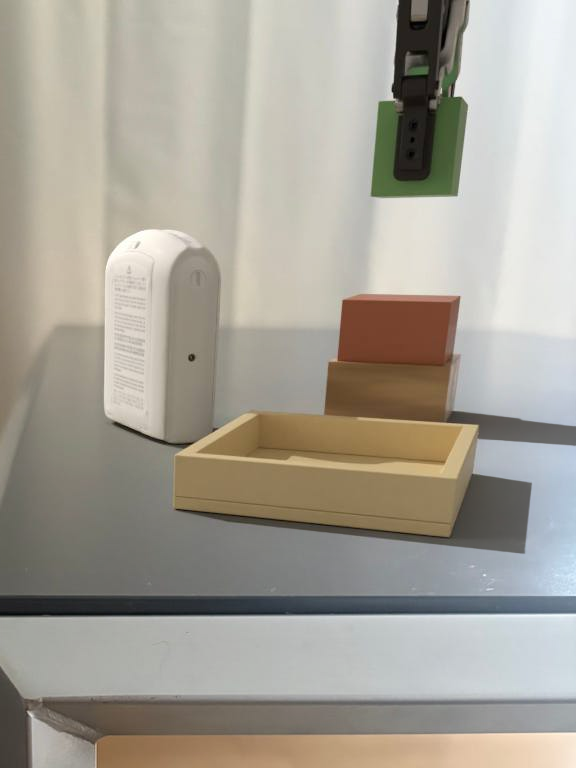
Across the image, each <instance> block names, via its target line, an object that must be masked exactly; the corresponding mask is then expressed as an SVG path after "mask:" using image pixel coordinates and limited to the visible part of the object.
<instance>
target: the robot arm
mask: <svg viewBox="0 0 576 768" xmlns="http://www.w3.org/2000/svg"><path fill="white" fill-rule="evenodd" d="M470 6H471V0H397V7H396V13H395V19H396V32H395V33H396V35H395V49H394V56H393V57H394V58H393V68H394V69H393V82H392V83H391V88H390V89H391V91H390V93H392V100H395V108H396V114H403V115H402V116H398V125H397V136H396V147H395V157H394V168H393V176H394V178H395V179H396V180H398V181H422V180H425V179H426V178H428V176H429V175H430V170H431V160H432V151H433V141H434V132H435V123H436V114H429V113H430V112H437V111H438V106H439V105H441V98H444V97H455V89H456V83H457V80H458V79H459V76H460V74H461V69H462V67H461V66H462V56H463V55H462V54H463V44H464V43H463V42H464V33H465V31H466V30H467V28H468V25H469V22H470V21H469V19H470V9H471V8H470Z"/></svg>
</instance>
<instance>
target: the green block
mask: <svg viewBox="0 0 576 768" xmlns="http://www.w3.org/2000/svg"><path fill="white" fill-rule="evenodd" d="M468 109H469V104H468V103H467V101H466V100H465V99H464V97H463V96H454V97H444V98H441V105H439V106H438V111H437V112H430V113H429V114H436V123H435V132H434V141H433V151H432V160H431V170H430V175H429V176H428V178H426V179H425V180H422V181H398V180H396V179H395V178H394V176H393V168H394V157H395V147H396V136H397V125H398V116H402V115H403V114H396V108H395V99H392V100H379V101H378V104H377V115H376V127H375V137H374V138H375V139H374V150H373V163H372V172H371V173H372V175H371V183H370V184H371V185H370V197H372V198H379V199H407V198H409V199H413V198H414V199H415V198H449V197H450V198H452V197H453V198H454V197H456V198H457V197H458V196H459V187H460V180H461V179H460V178H461V170H462V162H463V154H464V146H465V145H464V144H465V137H466V127H467V119H468Z"/></svg>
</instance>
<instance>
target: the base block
mask: <svg viewBox="0 0 576 768" xmlns="http://www.w3.org/2000/svg"><path fill="white" fill-rule="evenodd" d="M461 357H462V354H461V353H453V355H452V356H451V357H450V358H449V359H448V361H447V362H446V363H445V364H444V365H443V366H441V365H418V364H396V363H373V362H351V361H337V356H336V357H334V358H332V359H330V360H328V363H327V371H326V372H327V373H326V384H325V385H326V386H325V398H324V410H323V415H332V416H347V417H363V418H378V419H393V420H409V421H424V422H440V423H448V420H449V418H450V416H451V415H452V413H453V411H454V409H455V401H456V395H457V387H458V379H459V374H460V373H459V371H460V364H461Z"/></svg>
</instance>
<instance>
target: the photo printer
mask: <svg viewBox="0 0 576 768" xmlns="http://www.w3.org/2000/svg"><path fill="white" fill-rule="evenodd" d="M221 288H222V276H221V268H220V265H219V263H218V260H217V258H216V257H215V255H214V254H213V252H211V250H210V249H209V248H208V247H207V245H205V244H203V243H202V242H201V241H200V240H198V239H196V238H195V237H194V236H192V235H190V234H188V233H186V232H183V231H180V230H176V229H157V228H153V229H152V228H151V229H145V230H141V231H137V232H136V233H133V234H132V235H129V236H128V237H127V238H125V239H124V240H122V241H121V242H120V243H119V244H118V245H117V246H116V247H115V248H114V250H113V251H112V252H111V253H110V255H109V257H108V259H107V263H106V266H105V272H104V369H103V371H104V372H103V374H104V377H103V409H104V415H105V416H106V418H108V419H110V420H111V421H114V422H116V423H117V424H120V425H123V426H126V427H128V428H131V429H133V430H135V431H138V433H139V432H140V433H142V434H144V435H147V436H148V437H151V438H154V439H157V440H161V441H164V442H166V443H169V444H174V445H175V444H176V445H177V444H194V443H196V442H198V441H199V440H201V439H203V438H204V437H206V436H208V435H210V434H211V433H213V430H214V429H213V428H214V422H215V405H216V391H217V390H216V389H217V388H216V387H217V372H218V351H219V331H220V314H221V313H220V312H221V290H222V289H221Z"/></svg>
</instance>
